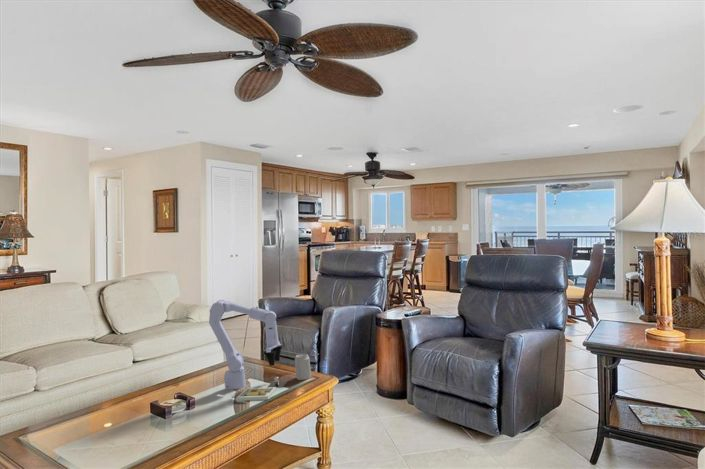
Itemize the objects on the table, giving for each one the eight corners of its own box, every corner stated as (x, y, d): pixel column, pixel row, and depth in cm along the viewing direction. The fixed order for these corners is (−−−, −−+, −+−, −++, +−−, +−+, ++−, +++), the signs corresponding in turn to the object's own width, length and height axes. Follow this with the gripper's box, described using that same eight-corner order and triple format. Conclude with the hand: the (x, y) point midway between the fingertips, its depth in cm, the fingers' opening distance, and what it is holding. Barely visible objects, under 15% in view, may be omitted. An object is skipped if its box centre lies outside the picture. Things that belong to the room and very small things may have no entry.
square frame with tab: (246, 398, 193) (246, 393, 193) (251, 394, 198) (251, 388, 198) (263, 397, 191) (263, 392, 191) (267, 393, 197) (267, 388, 197)
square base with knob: (266, 389, 203) (265, 380, 203) (272, 383, 211) (271, 374, 211) (282, 388, 202) (281, 379, 202) (287, 383, 210) (286, 374, 210)
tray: (236, 402, 190) (236, 397, 190) (246, 393, 201) (246, 388, 201) (268, 401, 188) (268, 396, 188) (276, 391, 199) (276, 387, 199)
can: (310, 380, 210) (308, 356, 210) (295, 382, 210) (293, 357, 210) (312, 375, 218) (310, 352, 218) (297, 377, 218) (295, 353, 218)
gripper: (274, 338, 204) (277, 367, 204) (284, 331, 219) (286, 358, 219) (260, 339, 206) (263, 367, 205) (271, 332, 220) (273, 359, 220)
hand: (274, 363), depth 212 cm, fingers open, 7 cm apart
